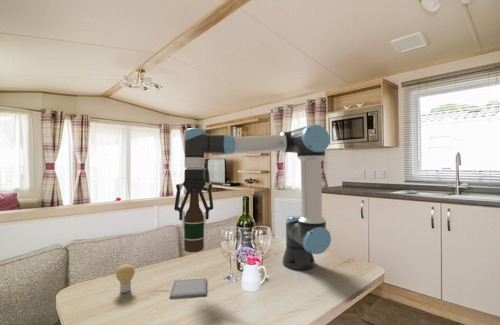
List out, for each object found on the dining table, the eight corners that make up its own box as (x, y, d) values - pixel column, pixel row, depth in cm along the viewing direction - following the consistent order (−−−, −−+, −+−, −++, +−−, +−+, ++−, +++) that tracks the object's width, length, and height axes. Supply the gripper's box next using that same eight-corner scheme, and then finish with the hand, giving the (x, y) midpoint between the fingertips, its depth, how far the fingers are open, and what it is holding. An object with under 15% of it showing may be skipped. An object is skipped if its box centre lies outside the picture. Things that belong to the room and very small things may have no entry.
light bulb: (131, 285, 105) (130, 260, 105) (137, 291, 100) (137, 264, 100) (113, 291, 100) (113, 264, 100) (119, 297, 96) (119, 269, 96)
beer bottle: (199, 253, 96) (200, 188, 97) (180, 252, 98) (180, 187, 98) (207, 246, 104) (207, 186, 104) (188, 245, 105) (189, 185, 106)
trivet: (206, 280, 109) (206, 278, 109) (206, 295, 96) (206, 293, 96) (174, 282, 107) (174, 280, 107) (169, 298, 94) (169, 295, 94)
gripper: (220, 168, 107) (219, 225, 106) (168, 168, 103) (168, 226, 103) (221, 168, 99) (220, 229, 99) (165, 168, 96) (165, 231, 96)
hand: (194, 228), depth 101 cm, fingers closed on beer bottle, 7 cm apart
